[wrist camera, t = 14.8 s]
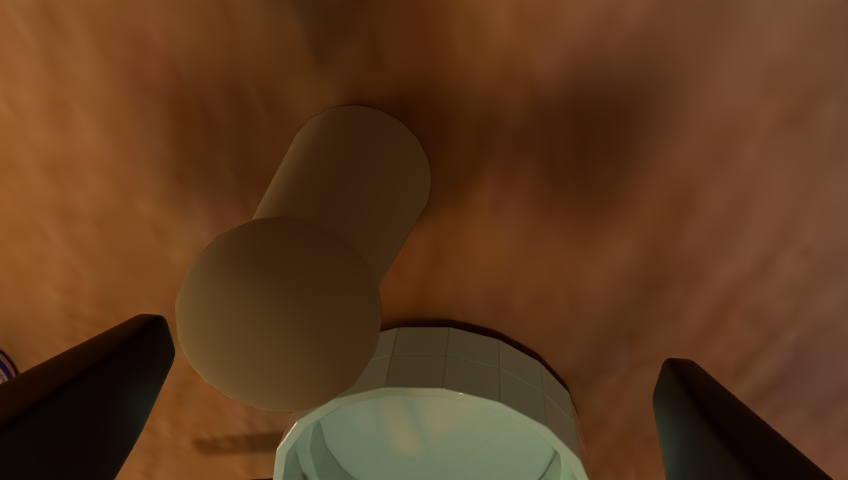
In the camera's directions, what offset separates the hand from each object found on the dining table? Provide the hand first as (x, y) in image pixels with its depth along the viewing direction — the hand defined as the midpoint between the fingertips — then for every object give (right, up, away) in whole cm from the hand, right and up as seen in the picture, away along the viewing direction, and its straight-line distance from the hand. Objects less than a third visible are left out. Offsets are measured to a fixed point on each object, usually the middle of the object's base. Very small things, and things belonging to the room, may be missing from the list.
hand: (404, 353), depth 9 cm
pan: (+1, -8, +19) cm, 21 cm away
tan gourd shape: (-2, +5, +12) cm, 14 cm away
